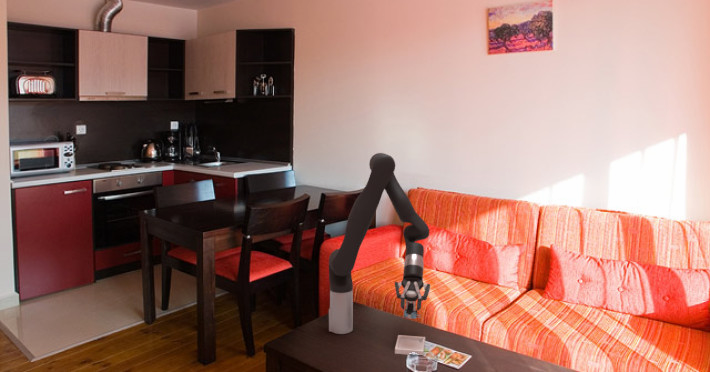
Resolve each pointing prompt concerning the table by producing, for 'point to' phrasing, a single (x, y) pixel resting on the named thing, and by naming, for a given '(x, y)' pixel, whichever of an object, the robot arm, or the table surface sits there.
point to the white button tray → (410, 345)
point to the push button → (411, 305)
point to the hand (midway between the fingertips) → (410, 309)
